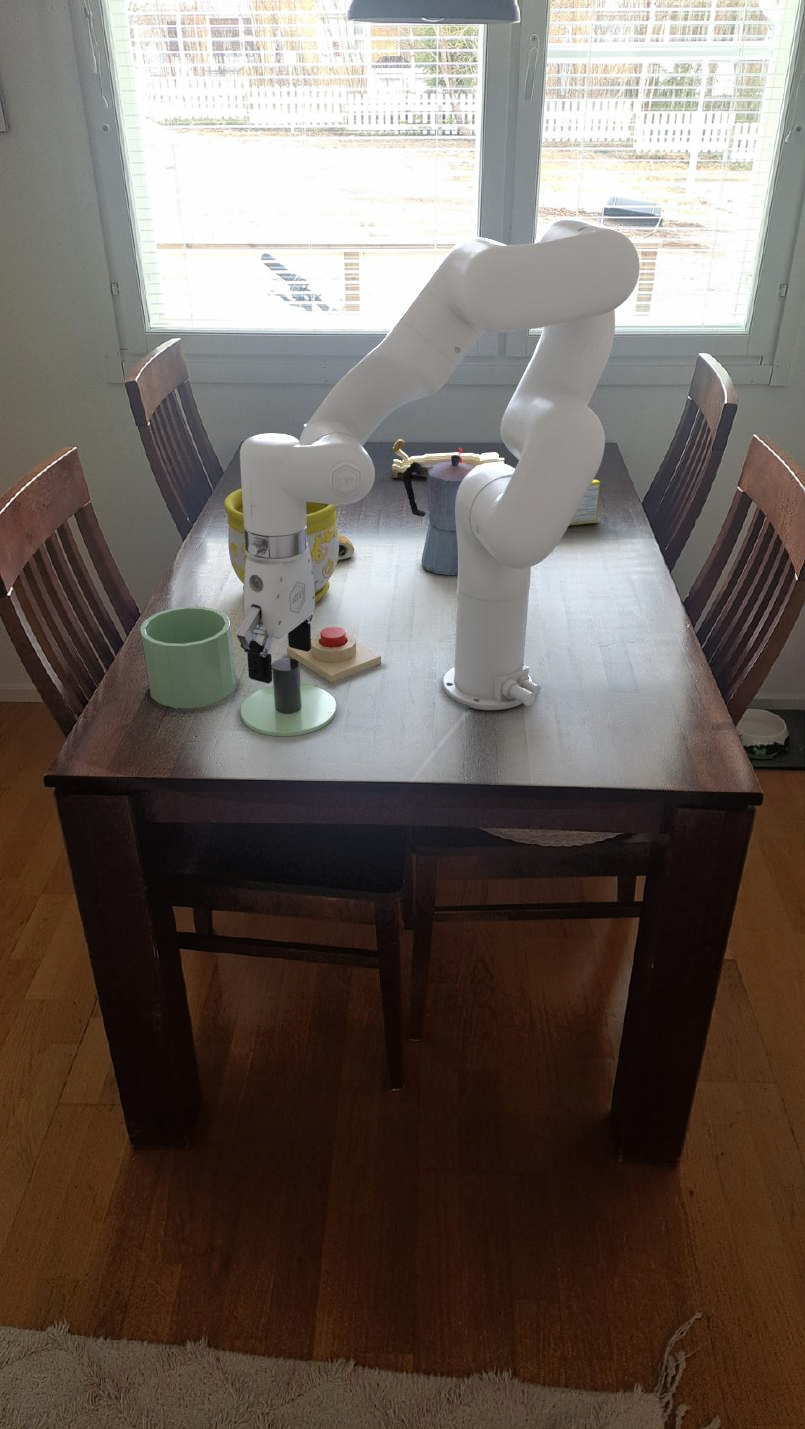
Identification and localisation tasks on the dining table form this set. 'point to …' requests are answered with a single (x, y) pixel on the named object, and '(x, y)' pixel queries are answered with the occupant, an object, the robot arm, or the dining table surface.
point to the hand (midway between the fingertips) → (280, 664)
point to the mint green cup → (188, 656)
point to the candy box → (588, 506)
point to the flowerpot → (318, 539)
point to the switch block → (336, 658)
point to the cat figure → (440, 459)
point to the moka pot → (439, 512)
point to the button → (333, 637)
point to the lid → (287, 704)
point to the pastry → (345, 548)
